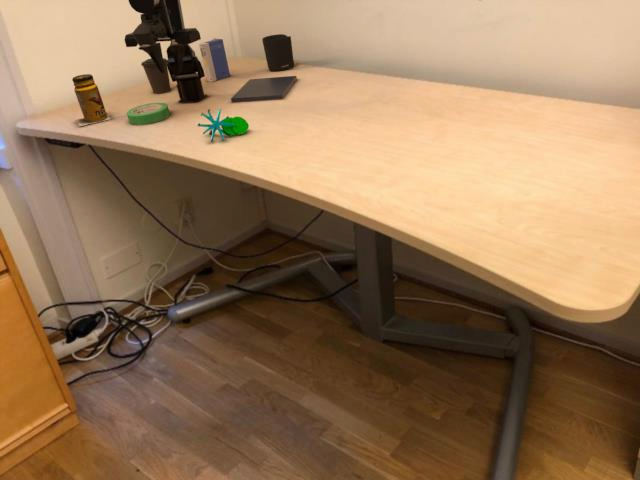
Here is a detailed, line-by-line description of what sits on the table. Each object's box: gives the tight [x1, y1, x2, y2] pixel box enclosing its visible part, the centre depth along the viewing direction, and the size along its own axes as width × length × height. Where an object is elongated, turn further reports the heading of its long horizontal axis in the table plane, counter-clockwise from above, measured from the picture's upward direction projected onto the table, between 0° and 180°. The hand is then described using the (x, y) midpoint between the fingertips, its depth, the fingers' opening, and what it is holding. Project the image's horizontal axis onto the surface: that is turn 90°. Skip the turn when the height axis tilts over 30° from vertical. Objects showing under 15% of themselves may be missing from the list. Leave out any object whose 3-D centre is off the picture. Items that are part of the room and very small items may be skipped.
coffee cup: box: [140, 57, 172, 95], centre depth 184 cm, size 8×8×10 cm
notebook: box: [230, 75, 298, 103], centre depth 174 cm, size 15×21×1 cm
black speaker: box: [261, 33, 295, 72], centre depth 195 cm, size 9×9×10 cm
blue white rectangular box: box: [198, 37, 231, 83], centre depth 191 cm, size 8×3×12 cm, turn 141°
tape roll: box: [126, 102, 171, 126], centre depth 160 cm, size 11×11×3 cm
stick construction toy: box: [197, 108, 250, 143], centre depth 141 cm, size 12×7×8 cm
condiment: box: [71, 73, 112, 127], centre depth 162 cm, size 7×8×12 cm
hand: (171, 72), depth 152 cm, fingers open, 5 cm apart
